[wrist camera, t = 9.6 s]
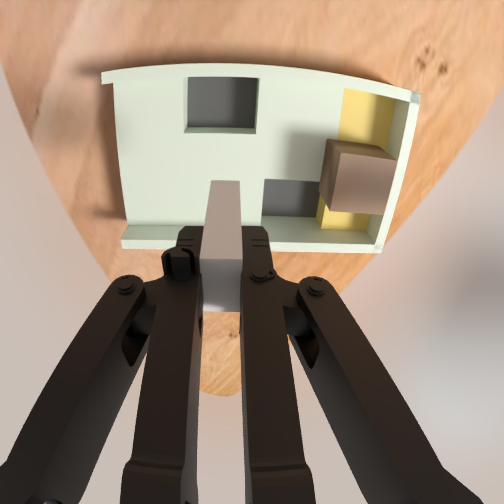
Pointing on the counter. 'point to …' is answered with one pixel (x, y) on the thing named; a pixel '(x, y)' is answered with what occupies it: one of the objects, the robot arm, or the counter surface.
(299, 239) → the box
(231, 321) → the counter surface
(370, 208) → the block
